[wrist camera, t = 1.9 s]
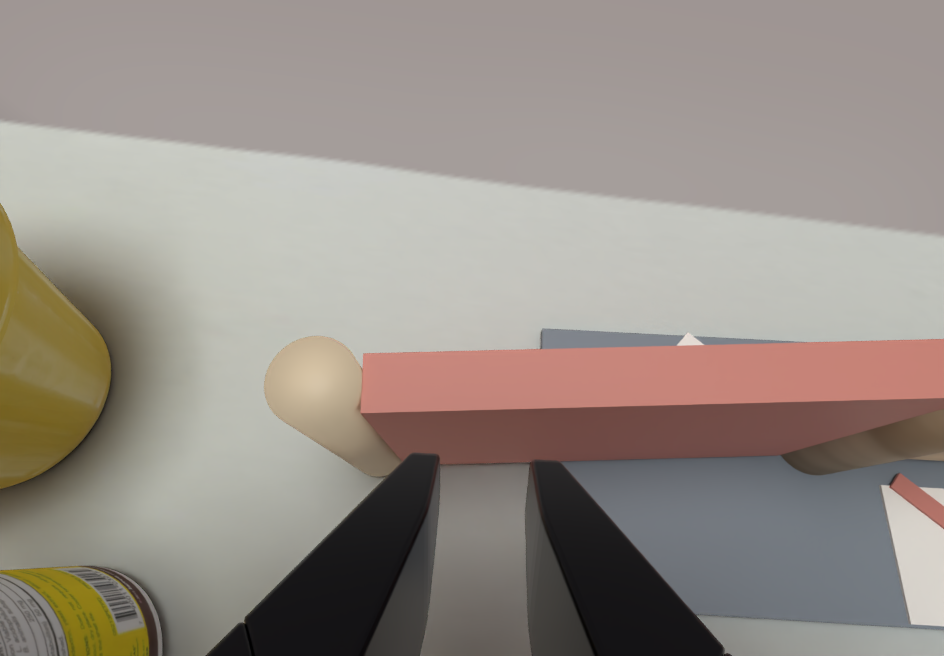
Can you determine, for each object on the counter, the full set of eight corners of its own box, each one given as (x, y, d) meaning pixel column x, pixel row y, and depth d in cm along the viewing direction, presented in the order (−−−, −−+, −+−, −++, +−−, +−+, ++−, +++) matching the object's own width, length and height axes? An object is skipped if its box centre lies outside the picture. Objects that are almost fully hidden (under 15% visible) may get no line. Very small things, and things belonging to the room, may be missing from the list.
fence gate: (764, 411, 18) (967, 319, 11) (776, 466, 17) (1003, 409, 10) (353, 421, 18) (269, 337, 11) (350, 477, 17) (258, 428, 10)
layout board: (1119, 359, 20) (1138, 354, 19) (1236, 646, 16) (1263, 650, 16) (541, 329, 20) (543, 323, 19) (538, 603, 17) (541, 605, 16)
